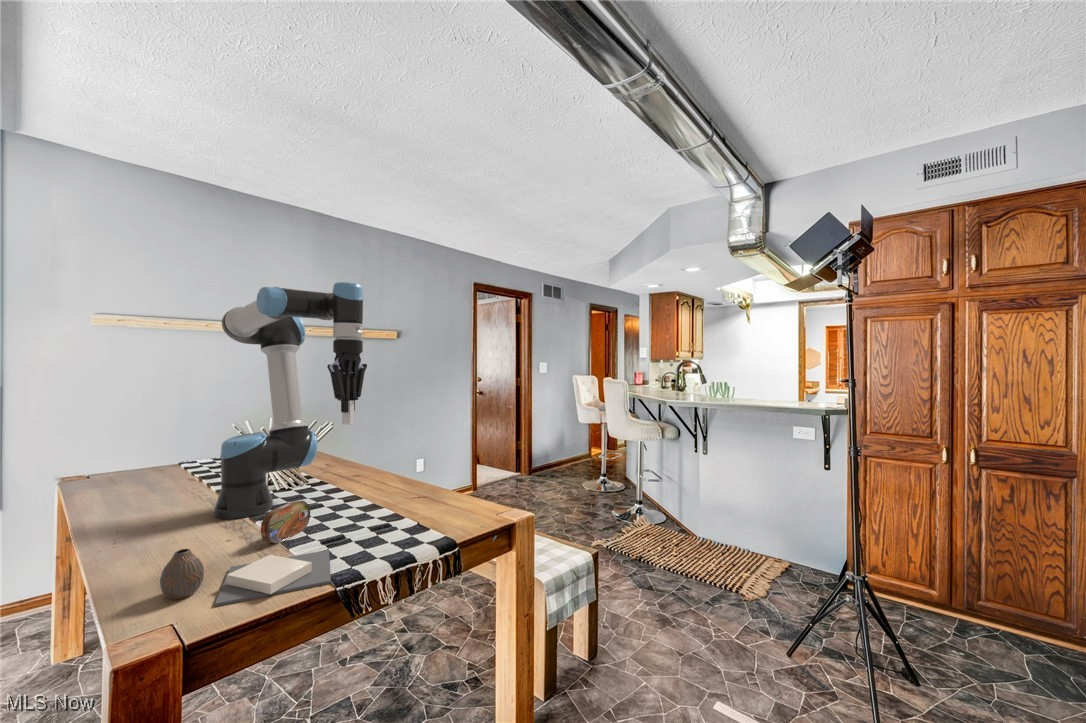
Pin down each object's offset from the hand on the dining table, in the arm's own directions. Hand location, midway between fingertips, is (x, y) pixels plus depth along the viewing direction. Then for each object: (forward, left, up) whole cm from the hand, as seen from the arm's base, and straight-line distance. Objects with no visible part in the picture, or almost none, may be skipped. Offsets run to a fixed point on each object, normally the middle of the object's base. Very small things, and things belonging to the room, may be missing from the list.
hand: (348, 423), depth 126 cm
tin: (-1, -15, -29) cm, 33 cm away
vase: (+24, -32, -29) cm, 49 cm away
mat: (+24, -15, -29) cm, 40 cm away
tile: (+26, -17, -27) cm, 41 cm away
